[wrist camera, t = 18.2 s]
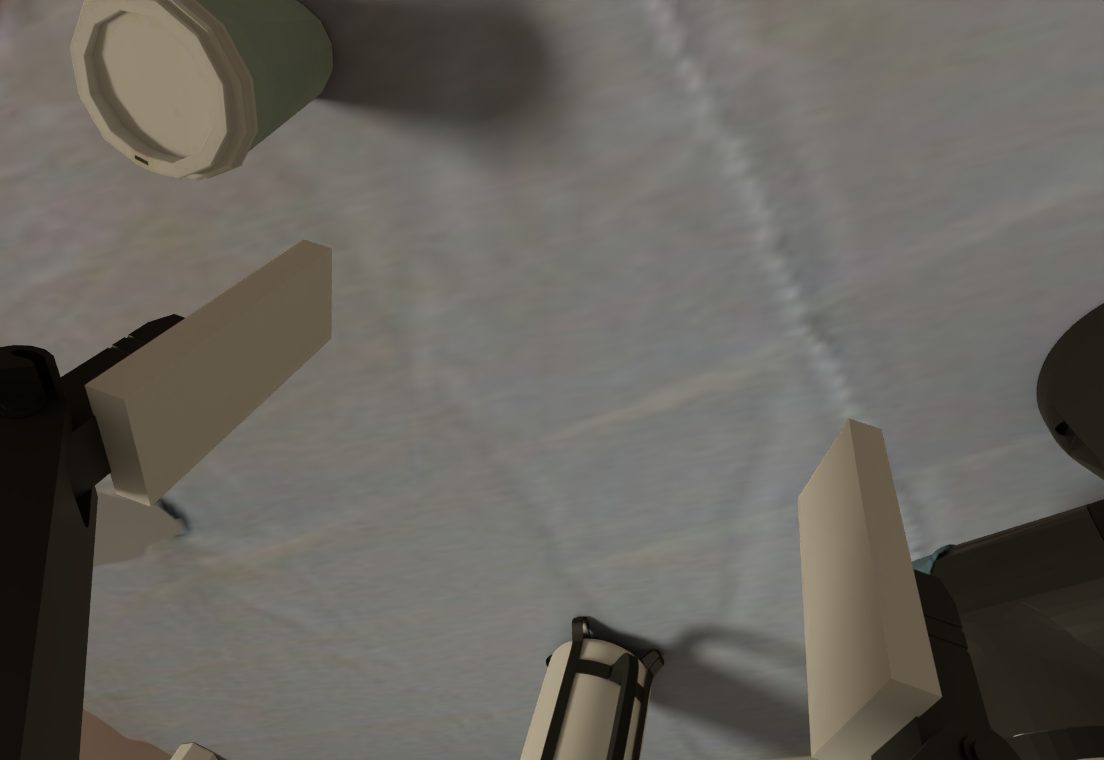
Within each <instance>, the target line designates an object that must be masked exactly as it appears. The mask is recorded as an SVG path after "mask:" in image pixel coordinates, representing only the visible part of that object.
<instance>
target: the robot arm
mask: <svg viewBox="0 0 1104 760" xmlns="http://www.w3.org/2000/svg"><path fill="white" fill-rule="evenodd" d="M331 295H332V249H331V248H328V247H325V246H322V245H319V244H316V243H313V242H310V241H307V240H302V241H301V242H299V243H298V244H296V245H295V246H293V247H292V248H290V249H289V250H287V251H286V252H284V253H283V254H281V255H280V256H278V257H277V258H275V259H274V260H272V261H271V262H269V263H268V264H266V265H265V266H263V267H262V268H260V269H259V270H257V271H256V272H254V273H253V274H251V275H250V276H248V277H247V278H245V279H244V280H242V281H241V282H239V283H238V284H236V285H235V286H233V287H232V288H230V289H229V290H227V291H226V292H224V293H223V294H221V295H220V296H218V297H217V298H215V299H214V300H212V301H211V302H209V303H208V304H206V305H204V306H203V307H201V308H200V309H198V310H197V311H195V312H194V313H192V314H191V315H189V316H188V317H186V318H184V317H181V316H178V315H176V314H173V315H170V316H166V317H163V318H160V319H157V320H154V321H151V322H148V323H146V324H145V325H143V326H141V327H140V328H138V329H137V330H135V331H134V332H132V333H130V334H129V335H128V337H127V338H125V337H124V338H122V339H121V340H119V341H118V342H116V343H115V344H113V345H112V347H111V348H107V349H105V350H103V351H102V352H100V353H99V354H97V355H96V356H94V357H92V358H91V359H89V360H88V361H86V362H84V363H83V364H81V365H80V366H78V367H77V368H75V369H73V370H72V371H70V372H69V373H67V374H65V375H64V376H62V377H60V374H59V371H58V368H57V365H56V362H55V358H54V356H53V355H52V354H51V353H49V352H48V351H47V350H45V349H42V348H38V347H34V346H24V345H12V346H6V347H0V760H79V754H80V740H81V726H82V725H81V724H82V711H83V698H84V684H85V670H86V656H87V642H88V628H89V614H90V600H91V586H92V571H93V557H94V543H95V529H96V514H97V500H98V496H97V492H96V488H95V485H96V484H97V483H98V482H100V481H101V480H102V479H103V478H104V477H106V476H107V475H108V474H109V473H110V474H111V478H112V481H113V485H114V488H115V492H116V494H118V495H121V496H123V497H126V498H129V499H131V500H134V501H137V502H139V503H142V504H145V505H147V506H150V507H151V506H152V505H153V504H154V503H155V502H156V501H158V500H159V499H160V498H161V497H162V496H163V495H164V494H165V493H166V492H167V491H168V490H169V489H170V488H171V487H173V486H174V485H175V484H176V483H177V482H178V481H179V480H180V479H181V478H182V477H183V476H184V475H185V474H186V473H188V472H189V471H190V470H191V469H192V468H193V467H194V466H195V465H196V464H197V463H198V462H199V461H200V460H201V459H203V458H204V457H205V456H206V455H207V454H208V453H209V452H210V451H211V450H212V449H213V448H214V447H215V446H216V445H218V444H219V443H220V442H221V441H222V440H223V439H224V438H225V437H226V436H227V435H228V434H229V433H230V432H231V431H233V430H234V429H235V428H236V427H237V426H238V425H239V424H240V423H241V422H242V421H243V420H244V419H245V418H246V417H248V416H249V415H250V414H251V413H252V412H253V411H254V410H255V409H256V408H257V407H258V406H259V405H260V404H262V403H263V402H264V401H265V400H266V399H267V398H268V397H269V396H270V395H271V394H272V393H273V392H274V391H275V390H277V389H278V388H279V387H280V386H281V385H282V384H283V383H284V382H285V381H286V380H287V379H288V378H289V377H290V376H292V375H293V374H294V373H295V372H296V371H297V370H298V369H299V368H300V367H301V366H302V365H303V364H304V363H305V362H307V361H308V360H309V359H310V358H311V357H312V356H313V355H314V354H315V353H316V352H317V351H318V350H319V349H320V348H322V347H323V346H324V345H325V344H326V343H327V342H328V341H329V340H330V339H331ZM1037 403H1038V407H1039V410H1040V413H1041V416H1042V418H1043V420H1044V422H1045V423H1046V425H1047V427H1048V429H1049V430H1050V432H1051V434H1052V436H1053V437H1054V439H1055V440H1056V442H1057V443H1058V444H1059V446H1060V447H1061V448H1062V449H1063V450H1064V451H1065V452H1066V453H1067V454H1068V455H1069V456H1070V457H1071V458H1073V459H1074V460H1075V461H1077V462H1078V463H1080V464H1081V465H1082V466H1084V467H1085V468H1087V469H1088V470H1090V471H1091V472H1093V473H1094V474H1096V475H1097V476H1099V477H1100V478H1101V479H1103V480H1104V303H1103V304H1102V305H1100V306H1099V307H1097V308H1095V309H1094V310H1092V311H1091V312H1089V313H1088V314H1087V315H1085V316H1084V317H1083V318H1081V319H1080V320H1079V321H1077V322H1076V323H1075V324H1074V325H1073V326H1072V327H1071V328H1070V329H1069V330H1068V331H1067V332H1066V333H1065V334H1064V335H1063V336H1062V337H1061V338H1060V339H1059V340H1058V341H1057V343H1056V344H1055V345H1054V347H1053V348H1052V349H1051V351H1050V353H1049V354H1048V356H1047V358H1046V360H1045V361H1044V364H1043V366H1042V368H1041V371H1040V374H1039V378H1038V382H1037ZM798 511H799V530H800V549H801V568H802V588H803V607H804V626H805V646H806V665H807V684H808V703H809V723H810V742H811V757H812V758H814V759H817V760H870V759H871V760H1104V499H1103V500H1100V501H1097V502H1094V503H1091V504H1087V505H1084V506H1081V507H1078V508H1075V509H1071V510H1068V511H1065V512H1062V513H1058V514H1055V515H1052V516H1049V517H1045V518H1042V519H1039V520H1036V521H1033V522H1029V523H1026V524H1023V525H1020V526H1016V527H1013V528H1010V529H1007V530H1003V531H1000V532H997V533H994V534H991V535H987V536H984V537H981V538H978V539H974V540H971V541H968V542H965V543H961V544H958V545H951V544H950V545H946V546H943V547H941V548H939V549H938V550H936V551H935V552H934V553H933V554H932V555H929V556H926V557H924V558H921V559H918V560H916V561H913V562H911V558H910V553H909V549H908V544H907V540H906V536H905V531H904V527H903V522H902V518H901V514H900V509H899V505H898V500H897V496H896V491H895V487H894V483H893V478H892V474H891V469H890V465H889V461H888V456H887V452H886V447H885V443H884V438H883V434H882V430H881V429H879V428H876V427H873V426H870V425H867V424H864V423H861V422H858V421H855V420H852V419H848V420H847V422H846V423H845V425H844V427H843V428H842V430H841V431H840V433H839V434H838V436H837V438H836V439H835V441H834V442H833V444H832V445H831V447H830V448H829V450H828V452H827V453H826V455H825V456H824V458H823V459H822V461H821V463H820V464H819V466H818V467H817V469H816V470H815V472H814V474H813V475H812V477H811V478H810V480H809V481H808V483H807V484H806V486H805V488H804V489H803V491H802V492H801V494H800V495H799V497H798Z"/></svg>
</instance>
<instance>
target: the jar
mask: <svg viewBox="0 0 1104 760" xmlns="http://www.w3.org/2000/svg"><path fill="white" fill-rule="evenodd" d="M171 760H218V759H217V757H216V756H215V754H214V753H213V752H211V751H209V750H207V749H205V748H203V747H201V746H199V745H198V744H196V743H187V744H181V746H180V747H179V748H178V750H177V751H176V753H175V754H174V755H173V757H172V758H171Z"/></svg>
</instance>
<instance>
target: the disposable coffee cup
mask: <svg viewBox="0 0 1104 760" xmlns="http://www.w3.org/2000/svg"><path fill="white" fill-rule="evenodd" d="M70 51H71V56H72V61H73V67H74V72H75V78H76V83H77V89H78V94H79V97H80V99H81V100H82V102H83V104H84V105H85V107H86V109H87V110H88V112H89V114H90V116H91V117H92V119H93V121H94V122H95V124H96V126H97V127H98V129H99V131H100V132H101V134H102V136H103V137H104V139H105V140H106V141H108V142H109V143H110V144H111V145H113V146H114V147H115V148H116V149H118V150H119V151H120V152H121V153H123V154H124V155H125V156H127V157H128V158H129V159H130V160H132V161H133V162H134V163H136V164H138V165H139V166H141V167H143V168H145V169H147V170H149V171H152V172H155V173H159V174H163V175H167V176H170V177H174V178H178V179H182V178H184V177H187V178H190V179H194V180H201V179H204V178H211V177H213V176H216V175H219V174H221V173H224V172H226V171H229V170H231V169H234V168H237V167H239V166H241V165H242V163H243V161H244V159H245V157H246V155H247V153H248V152H249V151H250V150H251V149H253V148H254V147H255V146H256V145H258V144H259V143H260V142H261V141H263V140H264V139H265V138H266V137H267V136H269V135H270V134H271V133H272V132H274V131H275V130H276V129H277V128H279V127H280V126H281V125H282V124H284V123H285V122H286V121H287V120H289V119H290V118H291V117H292V116H294V115H295V114H296V113H297V112H299V111H300V110H301V109H302V108H304V107H305V106H306V105H307V104H308V103H310V102H311V101H312V100H313V99H315V98H316V97H317V96H318V95H320V94H321V93H322V91H323V89H324V87H325V85H326V83H327V82H328V80H329V78H330V76H331V74H332V71H333V49H332V43H331V41H330V39H329V37H328V35H327V33H326V31H325V28H324V26H323V24H322V22H321V20H319V19H318V18H317V17H316V16H315V15H314V14H313V13H312V12H311V11H309V10H308V9H307V8H306V7H305V6H304V5H303V4H302V3H299V2H298V1H297V0H84V3H83V7H82V10H81V13H80V16H79V20H78V23H77V26H76V29H75V33H74V36H73V39H72V42H71V46H70Z"/></svg>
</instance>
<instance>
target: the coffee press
mask: <svg viewBox="0 0 1104 760" xmlns="http://www.w3.org/2000/svg"><path fill="white" fill-rule="evenodd" d="M656 658H658V659H657V660H656V661H655V662H654V663H653V664H652V665H651V666H650V668H649V669H648V671H647V670H646V668H645V666H647V665H649V664H650V663H651V662H652V661H653V660H655V659H656ZM546 664H547V667H548V669H547V672H546V675H545V678H544V682H543V685H542V688H541V692H540V695H539V698H538V702H537V705H536V708H535V712H534V715H533V718H532V722H531V725H530V728H529V732H528V735H527V738H526V742H525V745H524V748H523V752H522V755H521V758H520V760H640V759H641V753H642V746H643V740H644V733H645V727H646V720H647V714H648V707H649V700H650V693H651V683H652V679H653V677H654V676H655V674H656V673H657V672H658V671H659V670H660V669H661V667H662V666H663V665H664V659H663V657H662V656H661V654H660V652H659V651H658V650H652V651H650V652H649V653H648V654H647V655H645V656H644V657H643V658H641V659H638V658H637V657H636V656H634V655H633V654H632V653H630V652H629V651H627V650H625V649H624V648H622V647H620V646H617V645H615V644H612V643H610V642H606V641H603V640H597V639H592V638H591V636H590V631H589V624H588V620H587V618H586V617H580V618H574V619H573V620H572V641H569V642H566V643H564V644H563V645H561V646H560V647H558V648H557V649H556V650H555V652H554V653H553V655H550V656H549V657H548V658H547V659H546Z"/></svg>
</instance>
